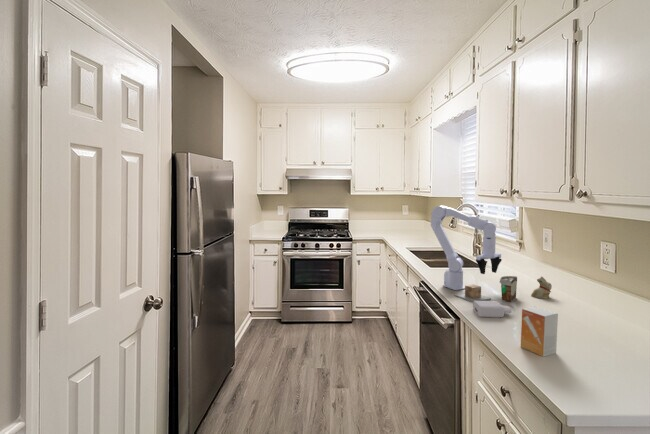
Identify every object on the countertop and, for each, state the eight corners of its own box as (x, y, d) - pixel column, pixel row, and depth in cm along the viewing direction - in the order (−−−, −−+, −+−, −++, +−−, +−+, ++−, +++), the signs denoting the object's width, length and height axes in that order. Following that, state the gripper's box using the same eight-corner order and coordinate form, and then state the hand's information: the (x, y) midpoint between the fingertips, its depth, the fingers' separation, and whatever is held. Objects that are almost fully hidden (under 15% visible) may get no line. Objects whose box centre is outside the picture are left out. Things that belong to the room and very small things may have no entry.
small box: (520, 347, 122) (521, 308, 121) (533, 343, 125) (534, 305, 124) (543, 357, 115) (544, 316, 114) (557, 353, 117) (558, 313, 116)
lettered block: (464, 295, 179) (465, 285, 179) (473, 294, 181) (473, 284, 181) (472, 298, 174) (473, 288, 174) (481, 297, 176) (481, 286, 176)
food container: (502, 294, 182) (503, 274, 181) (516, 297, 178) (517, 276, 178) (495, 300, 173) (496, 279, 172) (510, 303, 169) (510, 281, 168)
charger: (518, 318, 149) (480, 318, 151) (509, 311, 158) (473, 310, 160) (519, 307, 149) (480, 306, 150) (509, 300, 158) (473, 299, 159)
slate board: (454, 295, 181) (454, 294, 181) (471, 293, 185) (471, 291, 185) (472, 302, 170) (472, 301, 170) (491, 299, 174) (491, 298, 174)
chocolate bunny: (549, 299, 174) (550, 278, 173) (530, 296, 179) (531, 276, 178) (551, 296, 178) (552, 276, 177) (533, 294, 183) (533, 273, 183)
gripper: (484, 248, 180) (483, 276, 181) (506, 246, 185) (505, 273, 187) (473, 246, 186) (472, 273, 187) (495, 244, 192) (494, 270, 193)
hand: (488, 273), depth 187 cm, fingers open, 7 cm apart
